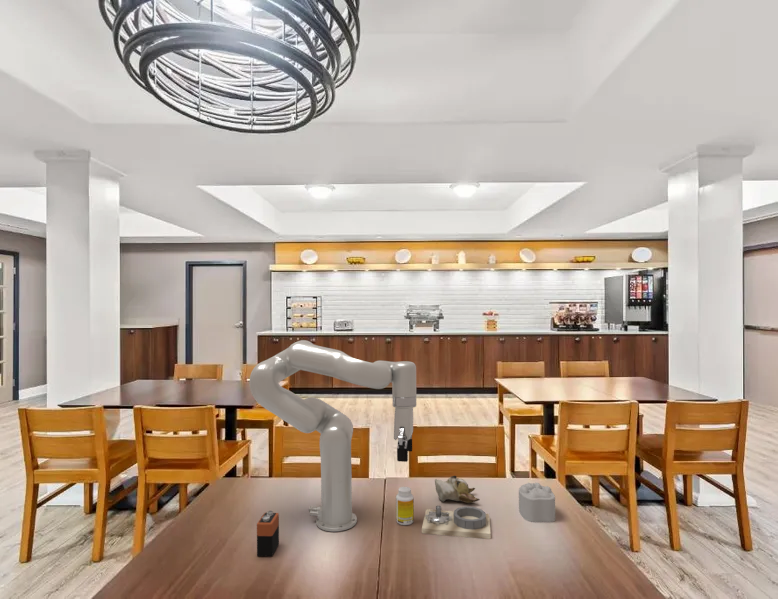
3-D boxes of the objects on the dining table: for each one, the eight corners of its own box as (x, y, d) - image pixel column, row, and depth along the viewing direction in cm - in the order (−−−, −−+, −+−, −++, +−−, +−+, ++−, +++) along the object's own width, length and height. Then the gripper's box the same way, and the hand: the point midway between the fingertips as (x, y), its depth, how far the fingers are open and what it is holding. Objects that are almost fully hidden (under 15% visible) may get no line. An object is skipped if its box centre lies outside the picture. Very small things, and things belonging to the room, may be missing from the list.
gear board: (421, 533, 138) (421, 528, 138) (426, 513, 150) (426, 509, 150) (490, 539, 134) (490, 533, 134) (489, 518, 147) (489, 513, 147)
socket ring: (453, 528, 138) (453, 519, 138) (454, 513, 147) (454, 505, 147) (486, 530, 136) (486, 522, 136) (485, 515, 145) (485, 507, 145)
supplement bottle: (416, 524, 143) (416, 491, 143) (399, 527, 141) (399, 493, 142) (409, 516, 149) (409, 484, 149) (393, 519, 147) (393, 486, 147)
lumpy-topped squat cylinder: (525, 522, 144) (525, 494, 144) (514, 504, 157) (514, 478, 157) (558, 522, 144) (558, 494, 144) (545, 504, 157) (545, 478, 157)
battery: (256, 557, 125) (256, 520, 125) (264, 544, 132) (264, 508, 132) (272, 557, 125) (272, 520, 125) (279, 544, 132) (279, 509, 132)
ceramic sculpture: (433, 469, 166) (475, 471, 166) (432, 493, 166) (474, 495, 166) (436, 480, 156) (481, 483, 155) (435, 506, 156) (479, 509, 155)
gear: (424, 524, 140) (424, 511, 140) (426, 512, 148) (426, 500, 148) (450, 526, 138) (450, 513, 138) (452, 514, 146) (452, 501, 146)
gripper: (397, 395, 154) (397, 447, 154) (387, 406, 137) (388, 464, 137) (419, 396, 153) (420, 448, 153) (412, 407, 136) (413, 466, 136)
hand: (405, 455), depth 145 cm, fingers open, 9 cm apart
